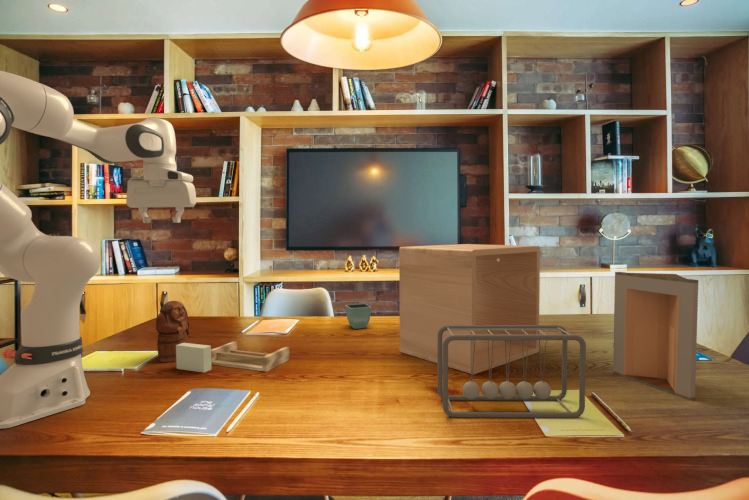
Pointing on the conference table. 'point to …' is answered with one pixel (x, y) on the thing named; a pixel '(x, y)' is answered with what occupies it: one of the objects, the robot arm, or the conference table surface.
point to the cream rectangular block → (193, 357)
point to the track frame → (247, 358)
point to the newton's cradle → (508, 388)
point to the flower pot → (358, 315)
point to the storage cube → (468, 301)
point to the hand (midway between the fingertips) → (161, 222)
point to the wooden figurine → (171, 329)
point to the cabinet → (656, 331)
